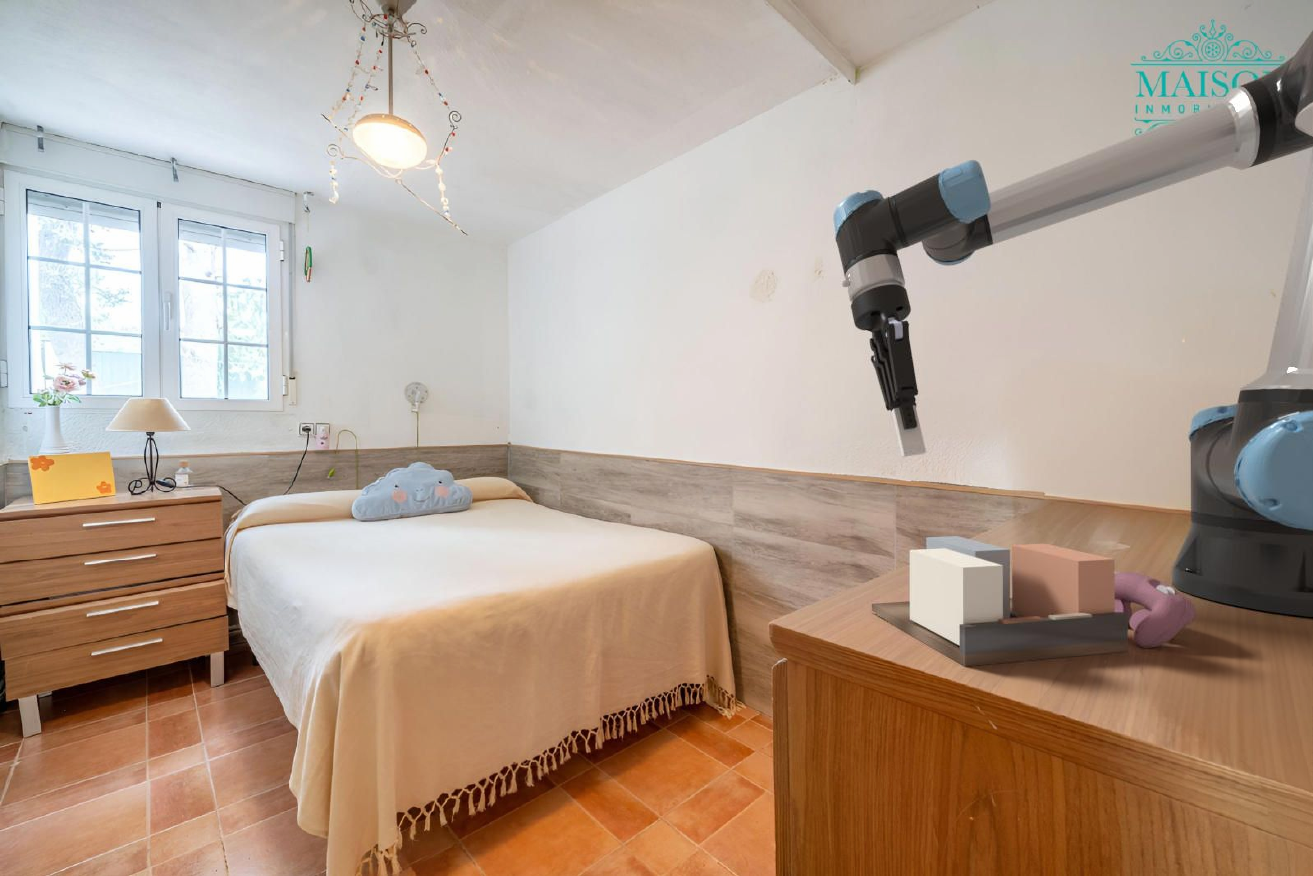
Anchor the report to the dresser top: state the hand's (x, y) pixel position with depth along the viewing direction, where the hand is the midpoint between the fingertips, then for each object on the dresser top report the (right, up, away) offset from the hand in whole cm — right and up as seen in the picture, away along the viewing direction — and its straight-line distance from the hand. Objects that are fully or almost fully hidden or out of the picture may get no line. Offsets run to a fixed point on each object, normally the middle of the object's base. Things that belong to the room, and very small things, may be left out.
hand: (913, 454), depth 68 cm
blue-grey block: (-1, -16, -13) cm, 21 cm away
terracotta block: (+6, -16, -17) cm, 24 cm away
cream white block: (-6, -16, -20) cm, 26 cm away
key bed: (-1, -17, -15) cm, 23 cm away
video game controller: (+13, -18, -16) cm, 27 cm away
